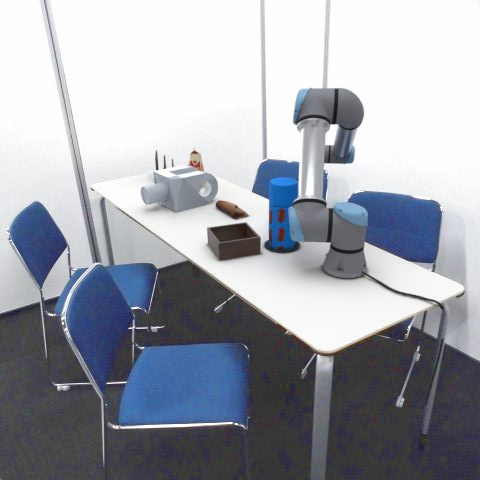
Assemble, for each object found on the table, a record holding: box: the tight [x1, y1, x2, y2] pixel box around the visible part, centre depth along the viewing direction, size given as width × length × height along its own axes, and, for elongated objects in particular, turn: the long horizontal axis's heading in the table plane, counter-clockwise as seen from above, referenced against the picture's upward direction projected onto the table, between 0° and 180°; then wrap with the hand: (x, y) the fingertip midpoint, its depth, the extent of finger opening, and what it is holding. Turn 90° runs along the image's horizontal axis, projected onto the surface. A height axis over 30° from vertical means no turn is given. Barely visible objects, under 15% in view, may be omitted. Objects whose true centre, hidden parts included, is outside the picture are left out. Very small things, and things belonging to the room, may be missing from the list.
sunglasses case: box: [215, 200, 249, 220], centre depth 220 cm, size 18×7×7 cm
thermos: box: [268, 176, 298, 250], centre depth 180 cm, size 11×11×25 cm
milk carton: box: [188, 147, 206, 188], centre depth 252 cm, size 9×9×20 cm
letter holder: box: [154, 150, 175, 171], centre depth 267 cm, size 10×20×14 cm, turn 7°
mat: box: [263, 239, 301, 254], centre depth 187 cm, size 14×14×1 cm
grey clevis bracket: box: [140, 164, 219, 213], centre depth 228 cm, size 35×19×15 cm, turn 126°
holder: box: [206, 221, 262, 261], centre depth 184 cm, size 17×17×7 cm
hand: (289, 198), depth 185 cm, fingers open, 13 cm apart
